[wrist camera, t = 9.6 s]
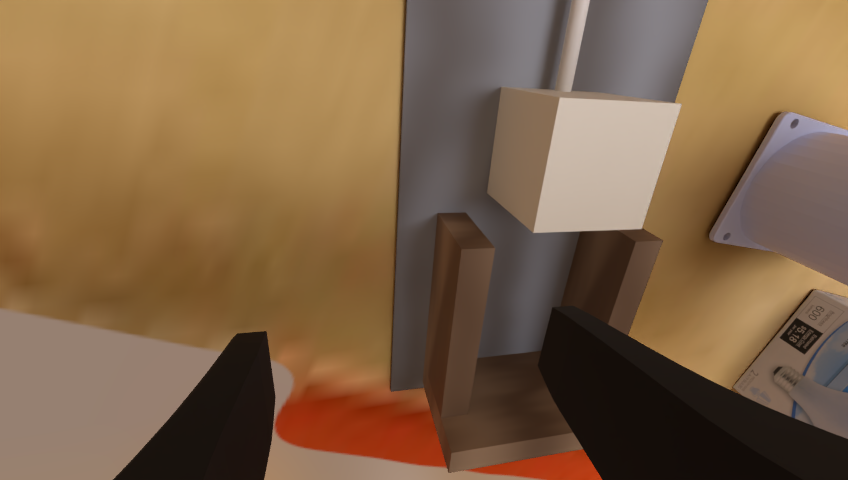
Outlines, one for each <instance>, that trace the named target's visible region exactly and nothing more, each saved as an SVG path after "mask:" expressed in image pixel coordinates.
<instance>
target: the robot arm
mask: <svg viewBox="0 0 848 480" xmlns="http://www.w3.org/2000/svg"><path fill="white" fill-rule="evenodd" d="M709 238H710V240H712V241H714V242H717V243H723V244H729V245H735V246H741V247H747V248H754V249H760V250H766V251H772V252H776V253H778V254H781V255H783V256H785V257H787V258H789V259H791V260H794V261H796V262H798V263H800V264H802V265H804V266H807V267H809V268H811V269H813V270H815V271H817V272H820V273H822V274H824V275H826V276H828V277H830V278H833V279H835V280H837V281H839V282H841V283H843V284H845V285H848V130H845V129H842V128H839V127H836V126H833V125H830V124H827V123H824V122H821V121H818V120H815V119H812V118H809V117H806V116H802V115H799V114H796V113H793V112H782V113H781V114H780V115H778V116H777V118H776V119H775V121H774V123H773V124H772V126H771V128H770V130H769V131H768V133H767V135H766V136H765V138H764V140H763V142H762V143H761V145H760V147H759V149H758V150H757V152H756V154H755V155H754V157H753V159H752V161H751V162H750V164H749V166H748V168H747V169H746V171H745V173H744V174H743V176H742V178H741V180H740V181H739V183H738V185H737V187H736V188H735V190H734V192H733V194H732V195H731V197H730V199H729V200H728V202H727V204H726V206H725V207H724V209H723V211H722V213H721V214H720V216H719V218H718V219H717V221H716V223H715V225H714V226H713V228H712V230H711V232H710V234H709ZM538 368H539V370H540V372H541V375H542V377H543V379H544V381H545V384H546V386H547V388H548V390H549V392H550V394H551V396H552V398H553V401H554V402H555V404H556V406H557V407H558V409H559V411H560V412H561V414H562V415H563V417H564V419H565V420H566V422H567V424H568V425H569V427H570V428H571V430H572V432H573V433H574V435H575V436H576V438H577V440H578V441H579V443H580V444H581V446H582V448H583V449H584V451H585V452H586V454H587V456H588V457H589V459H590V460H591V462H592V464H593V465H594V467H595V468H596V470H597V471H598V473H599V475H600V476H601V478H602V479H603V480H848V439H847V438H844V437H841V436H839V435H836V434H833V433H831V432H828V431H826V430H823V429H820V428H818V427H815V426H813V425H810V424H808V423H805V422H803V421H800V420H798V419H795V418H793V417H790V416H788V415H785V414H783V413H780V412H778V411H776V410H773V409H771V408H769V407H766V406H764V405H762V404H760V403H757V402H755V401H753V400H751V399H749V398H746V397H744V396H742V395H740V394H738V393H735V392H733V391H731V390H729V389H727V388H725V387H723V386H720V385H718V384H716V383H714V382H712V381H710V380H708V379H706V378H704V377H702V376H701V375H699V374H697V373H695V372H693V371H691V370H689V369H687V368H685V367H683V366H681V365H679V364H677V363H676V362H674V361H672V360H670V359H668V358H666V357H665V356H663V355H661V354H659V353H657V352H656V351H654V350H652V349H650V348H648V347H647V346H645V345H643V344H641V343H640V342H638V341H636V340H634V339H633V338H631V337H629V336H627V335H626V334H624V333H622V332H621V331H619V330H617V329H615V328H614V327H612V326H610V325H608V324H607V323H605V322H603V321H601V320H600V319H598V318H596V317H594V316H592V315H590V314H589V313H587V312H585V311H583V310H581V309H579V308H577V307H575V306H561V307H552V311H551V315H550V319H549V323H548V326H547V330H546V334H545V338H544V342H543V346H542V350H541V354H540V358H539V362H538ZM274 407H275V391H274V383H273V376H272V369H271V361H270V354H269V347H268V339H267V332H266V331H264V332H252V333H240V334H237V335H236V336H235V337H233V339H232V340H231V341H230V343H229V344H228V345H227V347H226V348H225V349H224V351H223V352H222V353H221V355H220V356H219V357H218V359H217V360H216V361H215V363H214V364H213V365H212V367H211V368H210V369H209V371H208V372H207V373H206V374H205V376H204V377H203V378H202V380H201V381H200V382H199V383H198V385H197V386H196V387H195V388H194V389H193V391H192V392H191V393H190V394H189V396H188V397H187V398H186V399H185V400H184V402H183V403H182V404H181V405H180V407H179V408H178V409H177V410H176V411H175V413H174V414H173V415H172V416H171V417H170V418H169V420H168V421H167V422H166V423H165V424H164V425H163V426H162V427H161V429H160V430H159V431H158V432H157V433H156V434H155V435H154V436H153V438H151V440H150V441H149V442H148V443H147V444H146V445H145V446H144V447H143V448H142V450H141V451H140V452H139V453H138V454H137V455H136V456H135V457H134V458H133V460H131V462H130V463H129V464H128V465H127V466H126V467H125V468H124V469H123V470H122V471H121V472H120V473H119V474H118V475H117V476H116V477H115V478H114V479H113V480H264V477H265V472H266V467H267V462H268V457H269V451H270V445H271V441H272V430H273V420H274Z"/></svg>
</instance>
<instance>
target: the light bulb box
mask: <svg viewBox="0 0 848 480" xmlns="http://www.w3.org/2000/svg"><path fill="white" fill-rule="evenodd" d="M733 388H734V389H735V390H737V391H738V392H739V393H740V394H741V395H742V396H744V397H746V398H749V399H751V400H753V401H755V402H757V403H760V404H762V405H764V406H766V407H769V408H771V409H773V410H776V411H778V412H780V413H783V414H785V415H788V416H790V417H793V418H795V419H798V420H800V421H803V422H805V423H808V424H810V425H813V426H815V427H818V428H820V429H823V430H826V431H828V432H831V433H833V434H836V435H839V436H841V437H844V438H847V439H848V298H846V297H842V296H839V295H835V294H831V293H828V292H824V291H820V290H813V291H812V293H811V294H810V295H809V296H808V298H807V299H806V300H805V301H804V302H803V304H802V305H801V306H800V307H799V308H798V310H797V311H796V312H795V313H794V314H793V316H792V317H791V318H790V319H789V320H788V322H787V323H786V324H785V325H784V326H783V328H782V329H781V330H780V331H779V332H778V333H777V335H776V336H775V337H774V338H773V339H772V341H771V342H770V343H769V344H768V345H767V347H766V348H765V349H764V350H763V351H762V353H761V354H760V355H759V356H758V358H757V359H756V360H755V361H754V362H753V363H752V365H751V366H750V367H749V368H748V369H747V371H746V372H745V373H744V374H743V375H742V376H741V378H740V379H739V380H738V381H737V382H736V384H735V385H734V386H733Z"/></svg>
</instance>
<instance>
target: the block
mask: <svg viewBox="0 0 848 480" xmlns="http://www.w3.org/2000/svg"><path fill="white" fill-rule="evenodd" d="M589 3H590V0H572V2H571V7H570V12H569V17H568V23H567V28H566V33H565V38H564V44H563V49H562V54H561V59H560V65H559V70H558V75H557V81H556V86H555V90H551V89H533V88H516V87H501V93H500V101H499V108H498V115H497V123H496V130H495V137H494V145H493V152H492V159H491V167H490V174H489V181H488V189H487V193H488V194H489V195H490V196H491V197H492V198H493V199H495V200H496V201H497V202H498V203H499V204H500V205H501V206H503V207H504V208H505V209H506V210H507V211H508V212H510V213H511V214H512V215H513V216H514V217H515V218H517V219H518V220H519V221H520V222H521V223H522V224H523V225H525V226H526V227H527V228H528V229H529V230H530V231H532V232H533V233H546V232H574V231H603V230H631V229H642V226H643V223H644V220H645V217H646V214H647V211H648V208H649V204H650V201H651V198H652V195H653V192H654V189H655V186H656V183H657V180H658V176H659V173H660V170H661V167H662V164H663V161H664V158H665V155H666V152H667V148H668V145H669V142H670V139H671V136H672V133H673V130H674V127H675V124H676V120H677V117H678V114H679V111H680V108H681V105H682V104H679V103H672V102H665V101H658V100H650V99H643V98H636V97H629V96H622V95H615V94H608V93H600V92H586V91H571V90H572V85H573V80H574V75H575V70H576V66H577V61H578V56H579V51H580V46H581V41H582V36H583V32H584V27H585V22H586V17H587V12H588V7H589Z"/></svg>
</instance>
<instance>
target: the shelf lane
mask: <svg viewBox="0 0 848 480" xmlns="http://www.w3.org/2000/svg"><path fill="white" fill-rule="evenodd" d="M571 2H572V0H406V21H405V46H404V70H403V95H402V120H401V144H400V169H399V193H398V218H397V242H396V267H395V292H394V316H393V341H392V365H391V392H392V391H400V390H408V389H416V388H424V389H425V392H426V396H427V399H428V403H429V406H430V410H431V413H432V417H433V420H434V424H435V427H436V430H437V434H438V437H439V441H440V444H441V448H442V451H443V455H444V458H445V462H446V465H447V469H448V472H449V473H451V472H456V471H462V470H468V469H474V468H479V467H485V466H490V465H496V464H502V463H507V462H513V461H518V460H524V459H530V458H535V457H541V456H546V455H552V454H557V453H563V452H569V451H574V450H580V449H583V448H582V446H581V444H580V443H579V441H578V440H577V438H576V436H575V435H574V433H573V432H572V430H571V428H570V427H569V425H568V424H567V422H566V420H565V419H564V417H563V415H562V414H561V412H560V411H559V409H558V407H557V406H556V404H555V402H554V401H553V398H552V396H551V394H550V392H549V390H548V388H547V386H546V384H545V381H544V379H543V377H542V375H541V372H540V370H539V368H538V362H539V358H540V354H541V350H542V346H543V342H544V338H545V334H546V330H547V326H548V323H549V319H550V315H551V311H552V307H561V306H575V307H577V308H579V309H581V310H583V311H585V312H587V313H589V314H590V315H592V316H594V317H596V318H598V319H600V320H601V321H603V322H605V323H607V324H608V325H610V326H612V327H614V328H615V329H617V330H619V331H621V332H622V333H624V334H626V335H627V336H628V334H629V331H630V328H631V325H632V323H633V320H634V317H635V315H636V312H637V309H638V307H639V304H640V301H641V299H642V296H643V293H644V290H645V288H646V285H647V282H648V280H649V277H650V274H651V272H652V269H653V266H654V264H655V261H656V258H657V255H658V253H659V250H660V247H661V245H662V242H663V240H661V239H659V238H658V237H656V236H654V235H653V234H651V233H649V232H647V231H646V230H644V229H631V230H603V231H574V232H546V233H533V232H532V231H530V230H529V229H528V228H527V227H526V226H525V225H523V224H522V223H521V222H520V221H519V220H518V219H517V218H515V217H514V216H513V215H512V214H511V213H510V212H508V211H507V210H506V209H505V208H504V207H503V206H501V205H500V204H499V203H498V202H497V201H496V200H495V199H493V198H492V197H491V196H490V195H489V194H488V193H487V189H488V181H489V174H490V167H491V159H492V152H493V145H494V137H495V130H496V123H497V115H498V108H499V101H500V93H501V87H516V88H533V89H551V90H555V86H556V81H557V75H558V70H559V65H560V59H561V54H562V49H563V44H564V38H565V33H566V28H567V23H568V17H569V12H570V7H571ZM707 2H708V0H590V3H589V7H588V12H587V17H586V22H585V27H584V32H583V36H582V41H581V46H580V51H579V56H578V61H577V66H576V70H575V75H574V80H573V85H572V90H571V91H586V92H600V93H608V94H615V95H622V96H629V97H636V98H643V99H650V100H658V101H665V102H672V103H675V100H676V96H677V93H678V90H679V87H680V84H681V81H682V78H683V75H684V72H685V69H686V66H687V63H688V60H689V57H690V54H691V51H692V48H693V45H694V42H695V39H696V36H697V33H698V30H699V27H700V24H701V21H702V17H703V14H704V11H705V8H706V5H707Z"/></svg>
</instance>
